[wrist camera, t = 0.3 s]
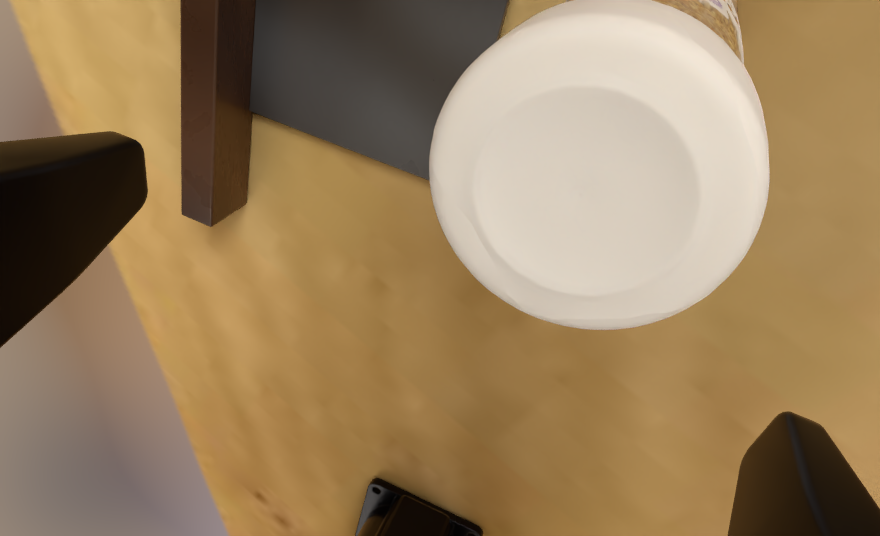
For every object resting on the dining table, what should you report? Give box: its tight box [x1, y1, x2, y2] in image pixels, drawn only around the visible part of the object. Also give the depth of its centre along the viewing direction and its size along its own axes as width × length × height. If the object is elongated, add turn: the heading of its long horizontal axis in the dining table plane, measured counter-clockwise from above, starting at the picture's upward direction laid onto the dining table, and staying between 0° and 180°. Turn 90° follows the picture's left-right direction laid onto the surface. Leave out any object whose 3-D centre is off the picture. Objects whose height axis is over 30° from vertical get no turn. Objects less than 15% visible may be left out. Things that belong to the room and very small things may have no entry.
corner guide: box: [181, 0, 510, 227], centre depth 22 cm, size 15×10×2 cm
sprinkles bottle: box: [429, 0, 770, 330], centre depth 14 cm, size 5×5×13 cm
